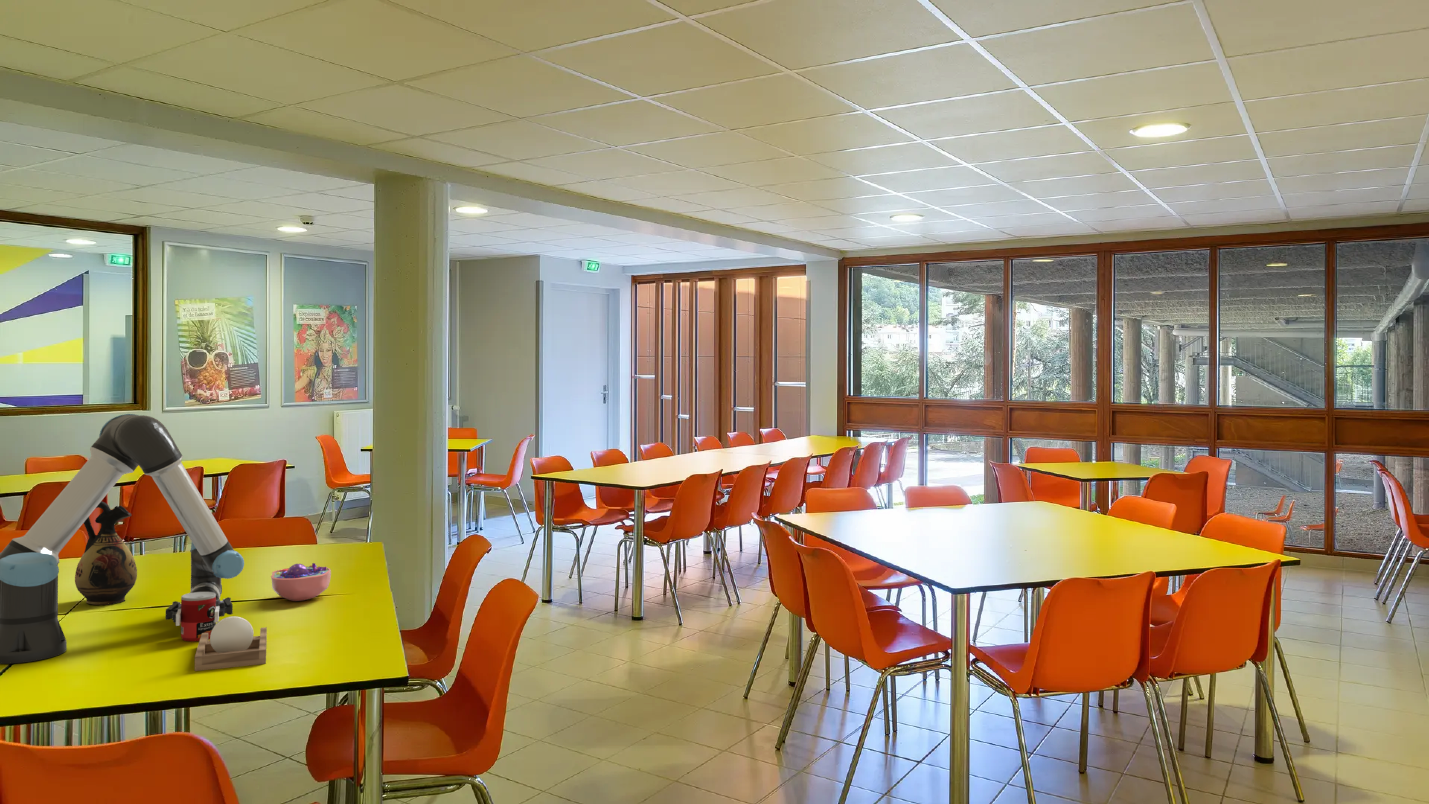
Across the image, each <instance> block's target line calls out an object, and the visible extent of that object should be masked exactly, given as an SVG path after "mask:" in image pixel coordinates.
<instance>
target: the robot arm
mask: <svg viewBox="0 0 1429 804" xmlns="http://www.w3.org/2000/svg"><path fill="white" fill-rule="evenodd" d="M89 450H90V458H88V460H87V461H86V462H85V463H84V464H83V466H82V467H81V468H80V469H79V470H78V472H77V473H75V475H74V476H73V478H72V479H71V480H70V481H69V482H68V483H67V485H66V486H65V487H64V488H63V490H62V491H61V492H60V493H59V494H58V495H57V496H56V498H55V499H54V500H53V501H52V502H51V503H50V504H49V506H48V507H47V508H46V509H45V511H44V512H43V513H42V514H41V516H40V517H39V518H38V519H37V520H36V521H35V523H34V524H32V526H31V527H30V528H29V529H28V531H27V532H26V533H25V534H24V535H22V536H20V537H14V538H12V539H11V540H10V541H9V543H8V544H7V545H6V546H5V547H4V548H3V550H1V552H0V665H1V664H2V665H3V664H5V665H8V664H9V665H10V664H21V663H30V662H37V661H42V660H46V659H49V658H54V657H56V656H59V655H61V654H64V653H65V652H66V651H67V642H68V641H67V639H66V637H65V634H64V631H63V628H62V626H61V624H60V622H59V621H60V620H59V612H58V610H59V605H58V603H59V573H60V572H59V571H60V569H59V566H58V565H59V563H60V557H59V554H60V552H61V551H62V550H63V549H64V547H65V546H66V545H67V544H68V542H69V541H70V540H71V539H72V538H73V537H74V535H75V534H76V533H77V532H78V530H79V529H80V528H81V526H83V524H84V522H85V520H86V519H87V518H88V517H89V518H90V515H92V513H93V512H94V511H95V509H97V508H96V507H97V506H98V504H99V503H100V502H101V501H102V502H103V500H104V498H105V497H106V496H107V495H108V493H109V492H110V491H111V490H112V489H113V487H114V486H115V485H116V484H117V483H118V481H119V480H120V479H121V478H122V476H124V475H127V474H130V473H134V472H135V470H136V469H137V468H138V466H139V468H140V469H141V470H142V472H143V474H144V475H146V476H149V477H151V478H152V480H153V482H154V483H155V485H156V486H157V488H158V489H159V491H160V492H161V494H162V496H163V497H164V499H165V500H166V502H167V504H168V505H169V508H170V509H171V510H172V512H173V513H174V516H175V517H176V518H177V520H178V522H179V523H180V524H181V526H182V528H183V529H184V532H185V533H186V534H187V536H188V538H189V539H190V541H191V542H190V543H191V545H190V592H189V593H194V592H213V593H215V594H216V609H215V622H216V623H218V622H219V621H220V617H225V615H226V614H227V615H229V616H230V615H233V612H234V611H233V603H232V601H231V600H232V599H231V597H225V598H222V600H221V595H222V593H223V585H222V579H227V580H228V579H233V578H235V577H237V576H238V575H240V574H241V573H242V571H243V570H244V566H245V560H244V557H243V556H242V554H240V552H238V551H236V550H235V549H234V548H233V546H232V545H231V543H230V542H229V540H228V538H227V537H226V535H225V533H224V532H223V530H222V528H221V526H220V525H219V523H218V522H217V520H216V518H215V516H214V515H213V512H212V511H211V510H210V508H209V507H208V504H207V503H206V502H205V499H204V498H203V496H202V495H201V493H200V492H199V490H198V488H197V486H196V484H195V483H194V481H193V479H192V478H191V476H190V474H189V473H188V471H187V469H186V468H185V466H184V465H183V462H182V460H183V457H184V456H183V454H182V453H181V451H180V450H179V447H178V446H177V444H176V442H175V440H174V439H173V437H172V435H171V433H170V432H169V430H168V429H167V427H166V426H165V425H164V424H163V423H162V422H161V421H160V420H159V419H157V418H155V417H153V416H149V415H142V414H141V415H139V414H135V413H125V414H120V415H117V416H114V417H112V418H110V419H109V420H108V421H106V422H105V424H103V426H102V428H101V429H100V432H99V436H98V438H97V439H96V440H95V442H94V443H93V444H92V445H91V446H90V448H89ZM165 620H172V621H173V623H175V626H176V627H177V626H181V601H180V602H179V601H176V600H174V601H172V604H171V605H169V606H168V607H167V608H166V609H165Z"/></svg>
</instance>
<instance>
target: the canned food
mask: <svg viewBox="0 0 1429 804" xmlns="http://www.w3.org/2000/svg"><path fill="white" fill-rule="evenodd" d="M180 604H181V623H180V636H181V639H182V641H184V642H191V643H192V642H193V643H194V642H199V641H200V638H201V635H202V633H208V640H210V635H211V632H212V629H213V628H214V626H215V625H216V624H217V622H215V609H216V594H215V593H213V592H194V593H190V592H188V593H185V594H183V595H181V599H180Z"/></svg>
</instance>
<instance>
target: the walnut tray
mask: <svg viewBox="0 0 1429 804" xmlns="http://www.w3.org/2000/svg"><path fill="white" fill-rule="evenodd" d="M259 629H260V631H259V635H256V636H255V635H253V640H252V643H251V645H250V646H249V647H248V648H247V649H246V650H243V651H233V652H223V653H217V652H216V651H215V650H214V649H213V648H212V646H211V643H210V640H209V639H208V633H202V635H201V638H200V641H198V645H197V648H196V652H195V655H194V671H195V672H198V671H206V670H207V671H209V670H217V669H227V668H235V667H236V668H237V667H245V666H254V665H264V664H266V663H267V645H268V644H267V642H268V641H267V640H268V639H267V637H268V636H267V635H268V633H267V631H268V629H267V626H266V627H260V628H259Z"/></svg>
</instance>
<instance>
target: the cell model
mask: <svg viewBox="0 0 1429 804" xmlns="http://www.w3.org/2000/svg"><path fill="white" fill-rule="evenodd" d="M331 576H332V570H331V568H329V567H327V566H320V565H318V566H317V565H316V563H314V562H313V563H312V564H311V565H309V566H306V565H304V564H303V563H294V564H292V565H291V566H289V568H282V569H277V570H274V571H272V572H271V576H270V578H271V588H272V590H273V591H274V592H275V594H276V595H278V596H279V597H281V598H284V599H286V600H289V601H291V602H301V601H307V600H310V599H313V598H316V597H318V596H320V595H321V594H322V593H323V592H325V590H328V588H329V586H330V582H331Z"/></svg>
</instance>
